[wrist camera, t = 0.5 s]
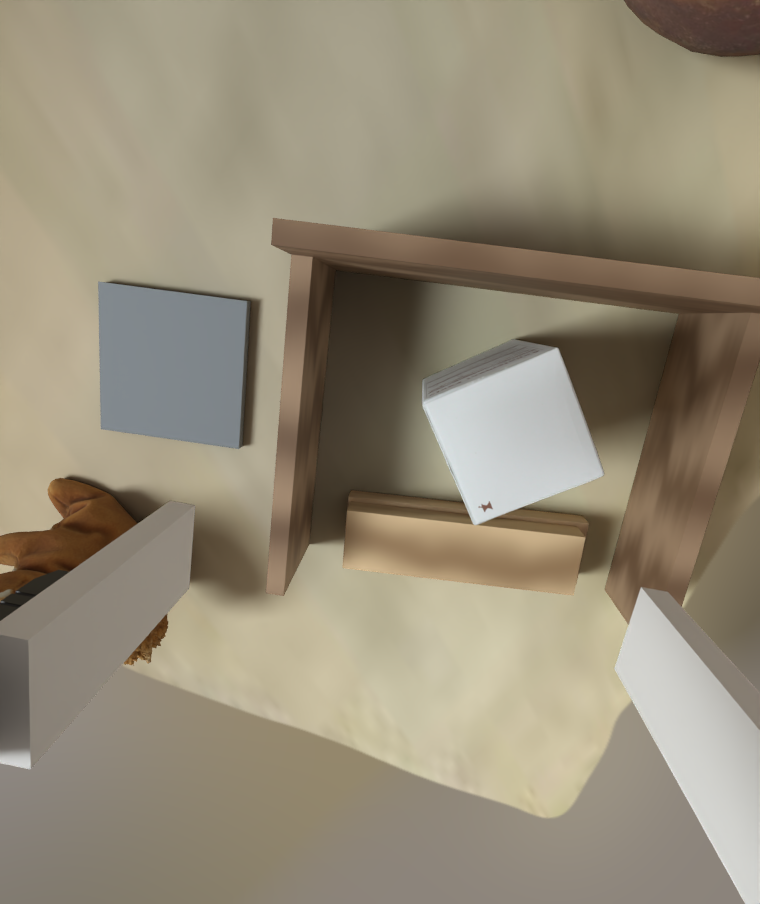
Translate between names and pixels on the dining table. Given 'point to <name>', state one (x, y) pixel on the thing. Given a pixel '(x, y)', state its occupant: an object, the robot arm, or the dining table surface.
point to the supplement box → (510, 428)
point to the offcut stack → (463, 543)
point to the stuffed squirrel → (71, 544)
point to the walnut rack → (557, 276)
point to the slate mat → (173, 364)
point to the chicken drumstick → (704, 24)
